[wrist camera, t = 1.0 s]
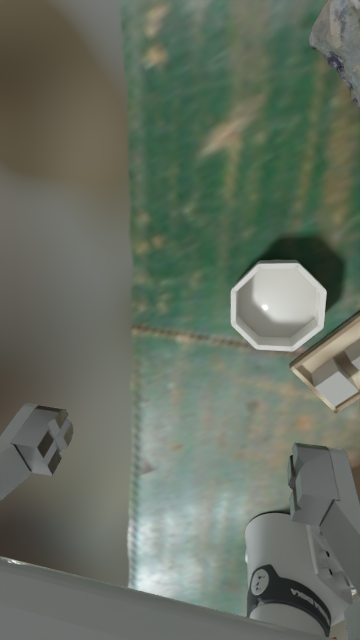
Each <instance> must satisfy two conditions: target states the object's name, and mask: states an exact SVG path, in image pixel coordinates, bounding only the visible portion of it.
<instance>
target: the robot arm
mask: <svg viewBox="0 0 360 640" xmlns="http://www.w3.org/2000/svg"><path fill="white" fill-rule="evenodd" d="M67 416H68V413H67V411H66V409H60V408H54V407H48V406H41V405H36V404H28V403H27V404H25V405H24V406H23V407H22V408H21V409H20V411H19V412H18V413H17V415H16V416H15V417H14V419H13V420H12V421H11V423H10V424H9V425H8V427H7V428H6V430H5V431H4V432H3V434H2V435H1V437H0V501H1V500H2V499H3V498H4V497H5V496H6V495H7V494H9V493H10V492H11V491H12V490H13V489H14V488H16V487H17V486H18V485H19V484H20V483H21V482H23V481H24V480H25V479H26V478H27V477H28V476H29V475H30V474H31V472H33V473H39V474H45V475H51V476H53V474H54V472H55V470H56V468H57V466H58V464H59V463H60V460H61V458H62V457H61V452H62V451H63V450H64V449H66V448H67V447H68V445H69V443H70V441H71V439H72V435H73V425H72V423H71V422H70V421H69V420H68V419H67ZM292 452H293V455H291V456H290V457H289V461H288V470H287V471H288V485H289V487H290V488H291V489H292V492H291V495H290V498H289V502H290V513H291V515H288V514H283V513H268V514H263V515H260V516H258V517H256V518H254V519H253V520H252V521H251V522H250V523H249V524H248V526H247V528H246V531H245V539H246V546H247V549H246V553H245V561H246V563H247V564H248V597H247V606H246V611H247V617H243V616H239V615H235V614H231V613H227V612H223V611H219V610H215V609H211V608H207V607H203V606H199V605H195V604H191V603H187V602H183V601H179V600H175V599H171V598H167V597H163V596H158V595H154V594H150V593H146V592H142V591H138V590H134V589H130V588H126V587H122V586H118V585H113V584H110V583H106V582H102V581H98V580H94V579H89V578H86V577H81V576H78V575H73V574H70V573H65V572H61V571H57V570H53V569H49V568H45V567H41V566H37V565H33V564H29V563H25V562H21V561H17V560H13V559H9V558H5V557H0V640H337V639H336V638H335V637H334V638H329V633H330V626H332V625H334V624H336V623H338V622H340V621H342V620H343V619H345V623H346V630H347V636H348V640H360V503H359V499H358V495H357V491H356V488H355V483H354V480H353V476H352V471H351V467H350V463H349V459H348V456H347V453H346V451H345V450H343V449H337V448H330V447H325V446H317V445H310V444H302V443H294V444H293V447H292ZM356 592H357V593H358V595H359V597H358V598H357V599H356V600H355V601H354V602H353V599H352V595H353V594H355V593H356Z"/></svg>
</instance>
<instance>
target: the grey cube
mask: <svg viewBox="0 0 360 640" xmlns="http://www.w3.org/2000/svg"><path fill="white" fill-rule="evenodd" d="M311 376H312V379H313V383H314V387H315V388H316V389H317V390H318V391H319V392H320V393H321V394H322V395H323V396H324V397H325V398H326V399H327V400H328V401H329V402H330V403H331V404H332V405H333V406H334V407H335V406H337V405H338V404H340V403H341V402H343V401H345V400H346V399H348V398H349V397H351V396H352V395H354V394H356V393H357V392H359V390H358V388H357V386H356V384H355V382H354V380H353V378H352V376H351V375H350V374H349V373H348V372H346V371H345V370H344V369H343V368H342V367H341V366H340V365H339V364H338V363H337V362H336V361H335V360H334V359H333V358H332V359H330V360H329V361H328V362H326V363H325V364H323V365H322V366H321V367H319V368H318V369H316V370H315V371H314V372H312V373H311Z"/></svg>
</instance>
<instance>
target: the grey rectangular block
mask: <svg viewBox="0 0 360 640" xmlns="http://www.w3.org/2000/svg"><path fill="white" fill-rule="evenodd" d="M344 351H345V352H346V354H347V356H348V358H349V360H350V361H351V363H352V364H353V365H354V366H355V367H356V368H357V369H358V370H359V371H360V339H358V340H357V341H355V342H354V343H353V344H351V345H350V346H348V347H347V348H346V349H344Z"/></svg>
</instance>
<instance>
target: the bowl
mask: <svg viewBox="0 0 360 640" xmlns="http://www.w3.org/2000/svg"><path fill="white" fill-rule="evenodd" d="M326 294H327V291H326V289H325V288H324V287H323V285H322V284H321V283H320V282H319V281H318V280H317V279H316V278H315V277H314V276H313V275H312V274H311V273H310V272H309V271H308V270H307V269H306V268H305V267H304V266H302V265H301V264H300V263H299V262H298V261H297V260H279V259H276V260H259V261H258V262H257V263H256V264H255V265H254V266H253V267H252V268H251V269H250V270H248V271H247V272H246V273H245V274H244V275H243V277H242V278H240V279H239V280H238V281H237V282H236V283H235V284H234V286H233V288H232V289H231V324H232V326H233V327H234V328H235V329H236V330H237V331H238V332H239V333H240V334H241V335H242V336H243V337H244V338H245V339H246V340H247V341H248V342H249V343H250V344H251V345H252V346H253V347H254V348H255V349H256V348H257V349H261V350H278V351H294V350H296V349H297V348H298V347H300V346H301V345H302V344H303V343H305V342H306V341H307V340H309V339H310V338H311V337H313V336H314V335H315V334H316V333H318V332H319V331H320V330H322V329H323V327H324V316H325V305H326Z"/></svg>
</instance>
